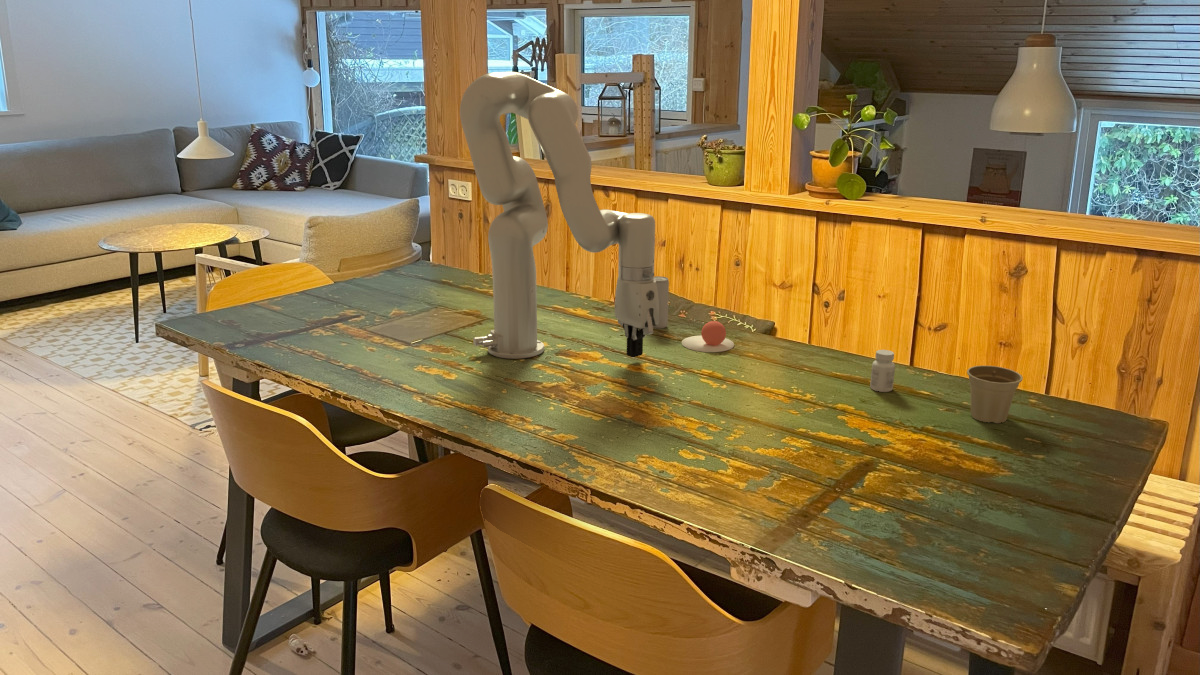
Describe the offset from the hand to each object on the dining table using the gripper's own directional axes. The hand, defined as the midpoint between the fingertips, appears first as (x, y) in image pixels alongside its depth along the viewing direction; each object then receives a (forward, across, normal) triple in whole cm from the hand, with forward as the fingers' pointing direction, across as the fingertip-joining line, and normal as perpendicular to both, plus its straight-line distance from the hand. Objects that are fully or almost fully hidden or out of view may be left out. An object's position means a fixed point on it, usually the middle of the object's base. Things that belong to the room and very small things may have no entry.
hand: (634, 355), depth 200 cm
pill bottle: (+2, -42, -30) cm, 52 cm away
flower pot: (+2, -63, -34) cm, 71 cm away
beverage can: (+2, +17, -21) cm, 27 cm away
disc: (+2, 0, -22) cm, 22 cm away
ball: (-1, -1, -22) cm, 22 cm away
